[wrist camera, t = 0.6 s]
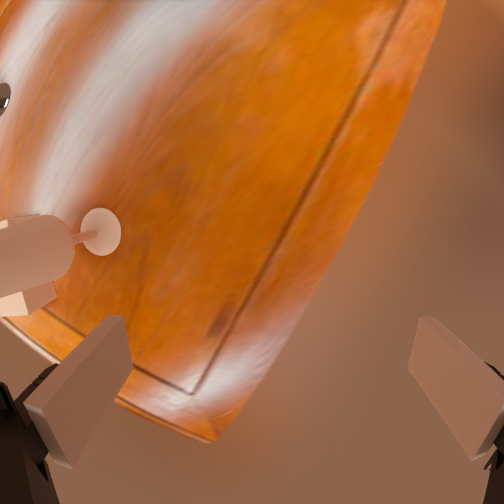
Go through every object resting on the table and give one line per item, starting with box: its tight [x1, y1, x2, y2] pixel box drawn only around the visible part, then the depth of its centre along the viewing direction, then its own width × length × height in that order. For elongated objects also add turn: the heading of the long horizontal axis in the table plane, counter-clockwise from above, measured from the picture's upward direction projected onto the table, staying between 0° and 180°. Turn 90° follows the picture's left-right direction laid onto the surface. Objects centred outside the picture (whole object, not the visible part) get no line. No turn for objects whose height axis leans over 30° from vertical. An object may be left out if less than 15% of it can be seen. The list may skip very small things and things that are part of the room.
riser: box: [0, 214, 57, 317], centre depth 35 cm, size 13×13×8 cm
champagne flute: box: [0, 208, 121, 298], centre depth 27 cm, size 7×7×24 cm
